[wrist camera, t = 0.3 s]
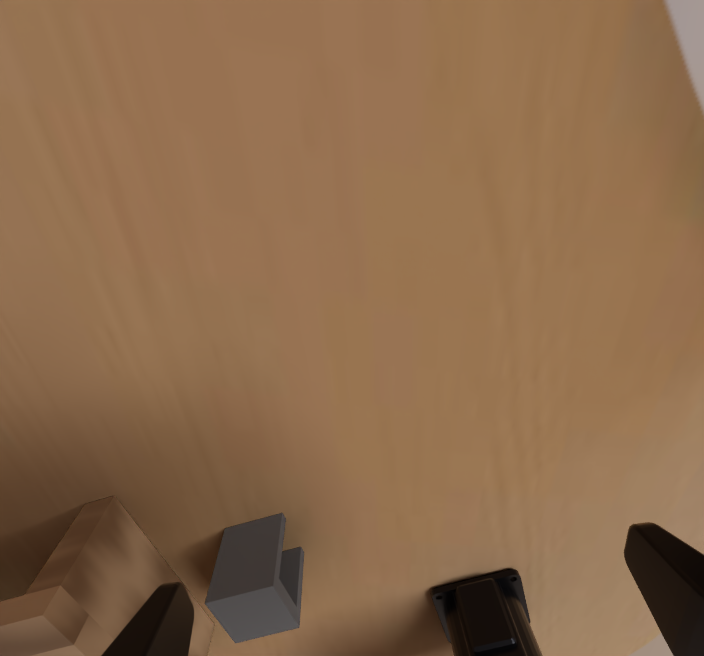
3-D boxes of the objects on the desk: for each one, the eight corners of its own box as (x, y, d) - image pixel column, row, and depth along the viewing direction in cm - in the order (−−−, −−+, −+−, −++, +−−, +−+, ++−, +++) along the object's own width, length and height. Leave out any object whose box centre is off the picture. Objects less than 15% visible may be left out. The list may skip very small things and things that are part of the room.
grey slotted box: (304, 552, 28) (299, 627, 24) (249, 566, 29) (235, 643, 24) (282, 512, 27) (273, 586, 22) (225, 528, 27) (204, 603, 23)
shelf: (214, 624, 31) (181, 762, 24) (37, 668, 33) (-42, 812, 26) (114, 495, 25) (33, 629, 19) (-96, 555, 27) (-244, 701, 20)
